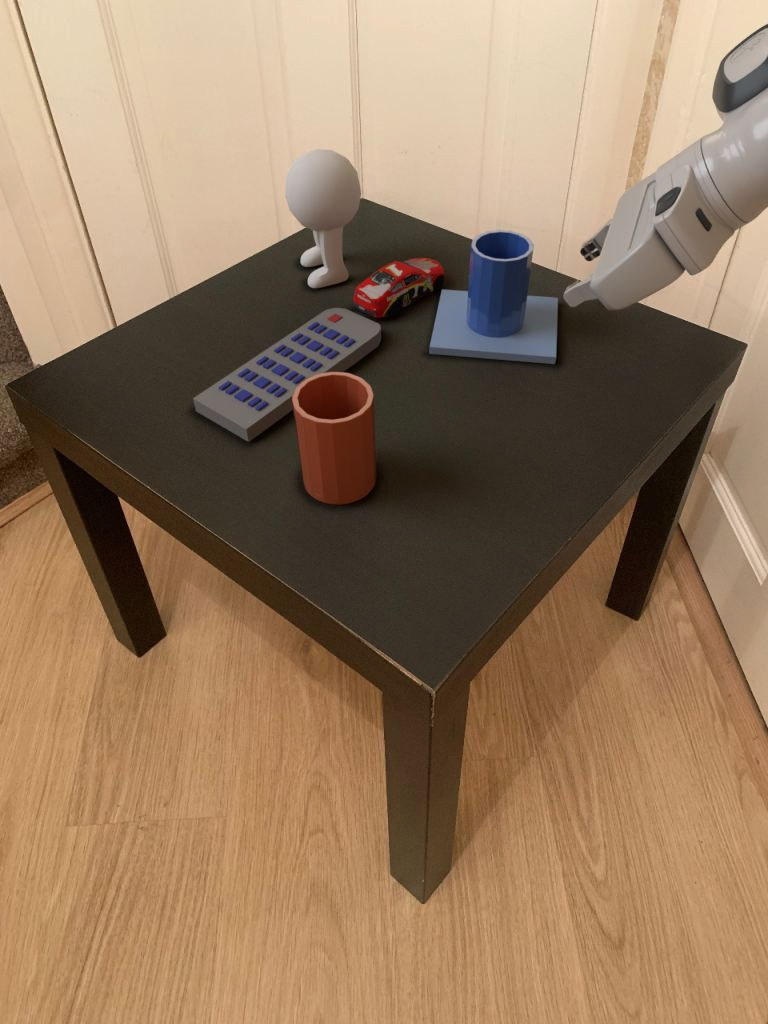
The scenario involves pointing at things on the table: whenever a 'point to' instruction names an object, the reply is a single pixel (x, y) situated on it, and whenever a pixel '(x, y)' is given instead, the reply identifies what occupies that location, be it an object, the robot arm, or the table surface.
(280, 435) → the table surface
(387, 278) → the race car
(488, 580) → the table surface
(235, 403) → the remote control
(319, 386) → the terracotta cup
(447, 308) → the blue mat
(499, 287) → the blue cup
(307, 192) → the toy character
